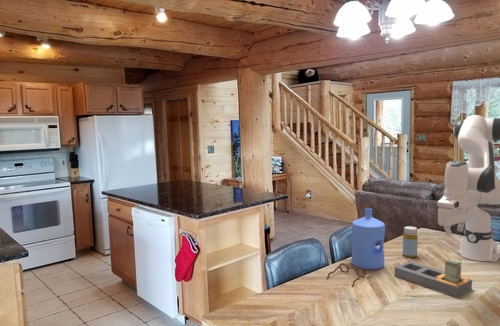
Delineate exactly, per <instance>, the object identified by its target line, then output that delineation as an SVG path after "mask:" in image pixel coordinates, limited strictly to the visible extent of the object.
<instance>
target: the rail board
mask: <svg viewBox="0 0 500 326" xmlns="http://www.w3.org/2000/svg"><path fill="white" fill-rule="evenodd" d="M394 276H395V277H397V276H398V277H397V278H400V279H403V280H406V281H409V282H412V283H415V284H417V285H420V286H423V287H426V288H429V289H432V290H435V291H437V292H440V293H444V294H446V295H449V296H452V297H454V298H458V297H460V296H462V295H464V294H465V293H468V292H469V291H471V290H472V289H473V287H472V286H473V285H472V284H473V279H470V278H468V277H465V276H462V275H461V282H459V283H457V284H454V283H451V282H448V281H445V280H444V279H445V270H444V271H443V270H441V269H438V268H434V267H431V266H429V265H425V264H421V263H418V262H414V261H413V260H412V261H411V260H409V261H407V262H404V263H402V264H399V265H397V266H396V265H395V267H394Z"/></svg>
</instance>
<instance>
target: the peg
mask: <svg viewBox="0 0 500 326" xmlns="http://www.w3.org/2000/svg"><path fill="white" fill-rule="evenodd" d="M444 271H445V279H444V280H445V281H448V282H451V283H454V284H457V283H459V282H461V276H462V261H461V260H457V259H453V258H450V259H449V258H448V259H446V260H445V261H444Z"/></svg>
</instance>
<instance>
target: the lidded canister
mask: <svg viewBox="0 0 500 326" xmlns="http://www.w3.org/2000/svg"><path fill="white" fill-rule="evenodd" d="M403 232H404V233H403V234H402V255H403V257H405V256H407V257H406V258H409V257H414V258H416V257H417V256H418V238H419V237H418V233H417V232H418V228H417V227H416V226H410V225H408V226H404V227H403Z"/></svg>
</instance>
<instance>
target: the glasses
mask: <svg viewBox="0 0 500 326" xmlns="http://www.w3.org/2000/svg"><path fill="white" fill-rule="evenodd" d="M342 266H345V267H346V271H344V270H343V269H342ZM338 269H339V270H340V271H341V272H342V273H345V274H347V273H349V270H354V271H355V273H356V275H357V277H358V278H355V279H354V280H353V281H352V284H351V288H353V287H354V286H355V282H357V281H359V280H360V279H361V278H365V277H366V276H367V274H366V269H363V268H359V267H356V268H354V267H351V266H349V265H347V264H346V263H343V262H342V263H341V262H340V264H339V265H338V266H337V267H336V268H335V269H334V270H333V271H330V272H329V273H327V274H328V275H327V277H326V280H327V281H328V280H329V277H330V275H332V274H335V272H337V270H338ZM358 270H361V271H362V273H361V274H359V272H358Z"/></svg>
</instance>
